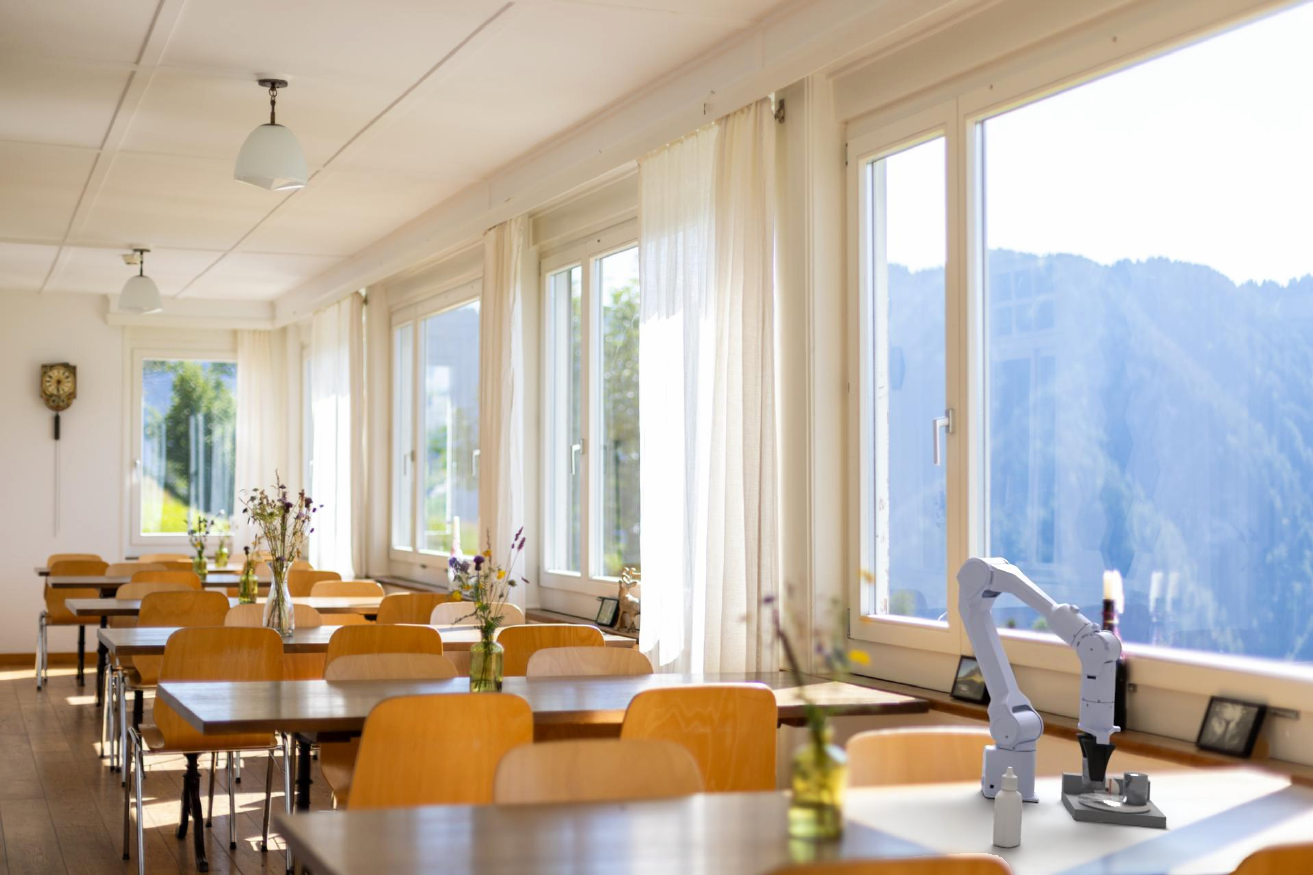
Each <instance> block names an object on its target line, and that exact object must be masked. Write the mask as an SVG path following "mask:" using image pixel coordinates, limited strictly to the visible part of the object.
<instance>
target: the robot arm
mask: <svg viewBox="0 0 1313 875" xmlns="http://www.w3.org/2000/svg"><path fill="white" fill-rule="evenodd" d="M955 578H956V580H957V583H958V585H959V589H958V605H957V608H958V612H959V615H960V618H961V620H962V623H963V626H964V628H965V632H966V634H967V635H966V636H967V638H968V640H969V642H970V645H971V648H972V651H973V653H974V655H975V659H976V661H977V665H978V667H979V670H980V672H981V675H982V678H983V681H984V683H985V686H986V689H987V692H988V695H989V697H990V702H989V704H988V707H987V710H986V711H987V712H986V713H987V715H988V718H989V733H990V736H991V739H992V740H993V741H994V742H995V743H994V744H991V745H990V744H987V745H984V746H983V751H982V752H983V753H982V769H981V770H982V771H981V778H980V784H981V786H980V787H981V791H982V792H983V795H984V797H986V798H990V799H993V798H994V799H995V797H996V795H997V793H998V792H999V791H1000V790H1001V789H1002V788H1001V782H1002V775H1004V774H1006V772H1007V768H1008V767H1012V769H1013V774H1014V775H1015V776H1017V777H1018V780H1017V790H1016V791H1018V792H1019V793H1020V794H1021V795H1022V801H1026V802H1036V803H1037V802H1039V801H1040V800H1039V797H1038V795H1037V793H1036V792H1035V785H1036V783H1035V781H1036V763H1037V762H1036V760H1037V741H1038V740H1039V739H1040V738H1041V737H1042V735H1043V733H1044V727H1045V726H1044V721H1043V719H1042V717H1041V715H1040V714H1039V712H1037V711H1036V710H1035V709H1034V707H1033V706H1032V703H1031V699H1029V698H1028V697H1027V696H1026V695H1025V694H1024V693H1023V692H1022V691H1020V688H1019V685H1018V683H1017V680H1016V678H1015V674H1014V672H1013V670H1012V667H1011V664H1010V662H1009V659H1008V656H1007V653H1006V650H1005V648H1004V646H1003V643H1002V640H1001V638H1000V635H999V632H998V629H997V626H996V625H995V622H994V621H995V620H994V619H993V617H992V616H993V615H992V613H991V610H992V607H993V606H994V604H995V602H996V600H997V599H998V597H999V596H1001V595H1002V593H1004V594H1005V593H1008V594H1012V595H1013V596H1015V598H1017V599H1019V600H1020V601H1021V602H1022V603H1024V604H1025V605H1027V606H1028V607H1030V609H1033V610H1034V611H1036V612H1037V613H1038V614H1039V615H1041V616H1042V617H1044V618H1045V622H1046V627H1047V629H1048V630H1049V631H1051V632H1052V633H1053V634H1054V635H1056V636H1057V637H1058V638H1060V639H1061V640H1062V641H1063V642H1064V643H1066V644H1067V645H1068V646H1069V647H1071V648H1072V649H1073V650H1075V654H1076V655H1077V658H1078V660H1079V661H1080V663H1081V671H1080V672H1081V673H1080V696H1079V718H1078V721H1079V722H1078V724H1077V729H1078V730H1080V731H1083V732H1084V733H1082V732H1081V733H1079V732H1077V733H1075V737H1076V740H1077V741H1078V744H1079V747H1080V751H1081V755H1082V758H1083V757H1087V762H1088V772H1089V777H1090V780H1091V781H1099V782H1103V780H1104V777H1105V773H1106V774H1107V767H1108V765H1109V761H1110V758H1111V756H1112V754H1113V752H1114V751H1115V749H1116V747H1117V743H1115V742H1112V741H1111V742H1110V740H1111V739H1110V738H1111V735H1112V734H1113V733H1115V732H1116V733H1120V732H1121V727H1120V726H1118V725H1117V726H1116V725H1114V724H1115V723H1114V720H1115V719H1114V718H1115V699H1116V698H1115V696H1116V695H1115V693H1116V668H1117V667H1116V663H1117V662H1116V661H1117V660H1118V659H1119V658H1120V657H1121V655H1122V650H1123V649H1122V648H1123V647H1122V642H1121V641H1120V639H1119V638H1118V636H1117V635H1116V634H1115V633H1114V632H1113V631H1111V630H1107V629H1105V630H1101V625H1100V624H1099V623H1097V622H1092V621H1091V620H1089V619H1088V618H1087V617H1086V616H1084V615H1083V613H1081V612H1080V607H1078V606H1077V605H1075V604H1071V605H1070V604H1069V603H1060V604H1058V603H1057V602H1056V601H1055V600H1054V599H1052V598H1051V597H1050V596H1049V595H1048V594H1047V593H1046V592H1045V591H1043V589H1041V588H1040V587H1039V586H1037V585H1036V584H1035V583H1034V582H1033V581H1031V580H1030V579H1029V578H1028V577H1027V576H1026V575H1024V574H1023V573H1022V572H1021V570H1020V569H1019V568H1018V567H1017V566H1015V565H1013V564H1010V562H1009V561H1008V560H1007V559H1006V558H1003V557H1001V556H1000V557H999V556H995V557H977V556H975V557H971V558H968V559H966V560H965V561H964V562H963V564H962V565H961V567H960V569H959V571H958V572H957V575H956V577H955Z"/></svg>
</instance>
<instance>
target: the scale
mask: <svg viewBox="0 0 1313 875" xmlns="http://www.w3.org/2000/svg"><path fill="white" fill-rule="evenodd" d="M1061 774H1062V775H1061V798H1060V799H1061V801H1062V803H1063V805H1064V806H1065V807H1066V810H1067V811H1068V812H1069V814H1070V815H1071V817H1072V819H1073V820H1075V821H1085V822H1093V823H1094V822H1097V823H1106V824H1118V825H1119V824H1120V825H1131V826H1140V827H1141V826H1142V827H1152V828H1160V829H1161V828H1163V829H1167V816H1166V815H1165V814H1164V812H1162V811H1161V809H1160V808H1158V806H1156V805H1155V803H1154V802H1152V800H1151V780H1149V779H1148V789H1147V803H1149V804H1150V811H1148V812H1145V813H1135V814H1131V813H1116V812H1109V811H1103V810H1098V809H1094V808H1090V807H1087V806H1085V805H1082V804H1080V803H1079V802H1078V796H1079V795H1081V794H1085V793H1108V794H1117V795H1123V778H1124V776H1114V775H1106V785H1105V790H1089V789H1085V788H1082V787H1081V783H1082V773H1080V772H1068V771H1067V772H1066V771H1062V773H1061Z"/></svg>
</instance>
